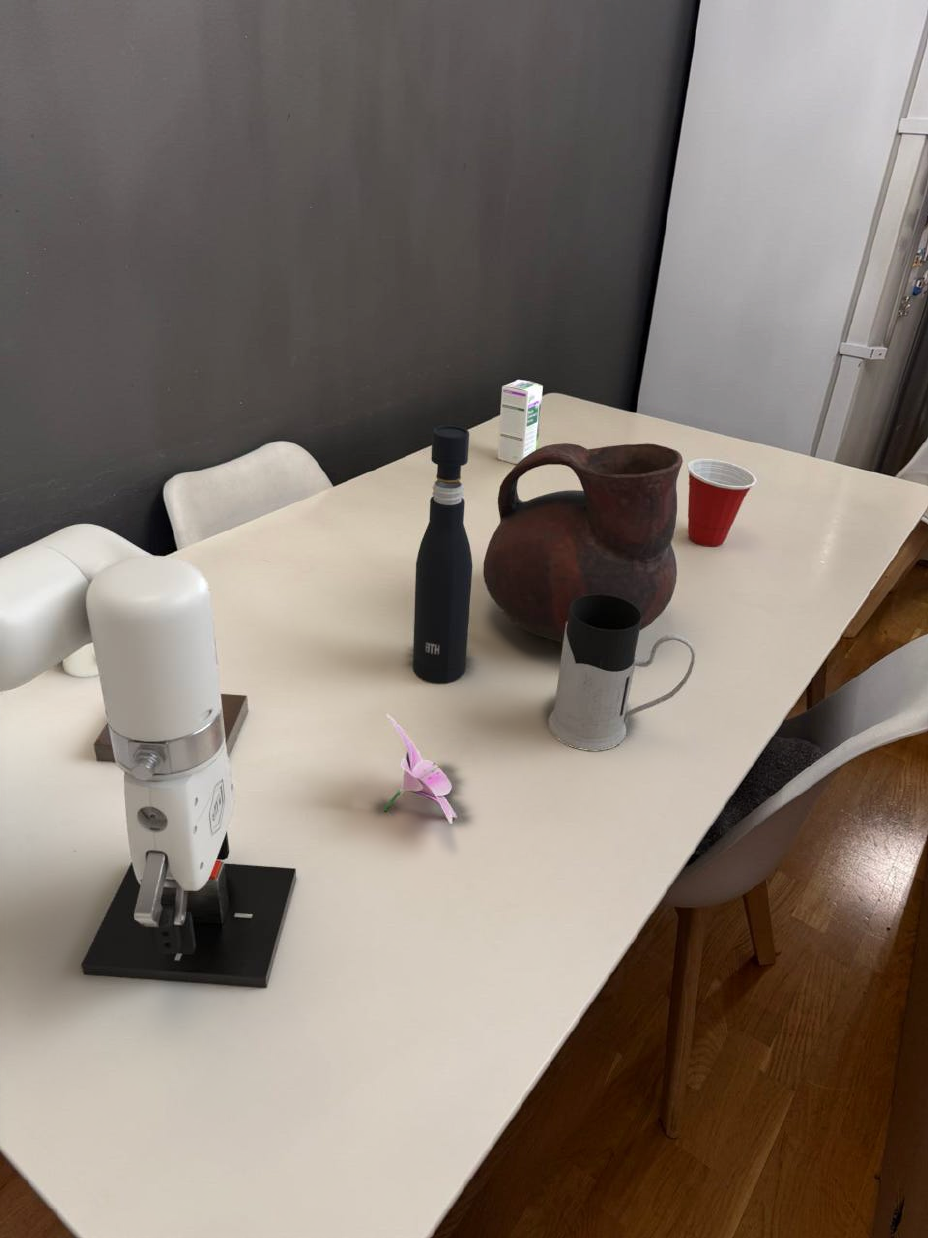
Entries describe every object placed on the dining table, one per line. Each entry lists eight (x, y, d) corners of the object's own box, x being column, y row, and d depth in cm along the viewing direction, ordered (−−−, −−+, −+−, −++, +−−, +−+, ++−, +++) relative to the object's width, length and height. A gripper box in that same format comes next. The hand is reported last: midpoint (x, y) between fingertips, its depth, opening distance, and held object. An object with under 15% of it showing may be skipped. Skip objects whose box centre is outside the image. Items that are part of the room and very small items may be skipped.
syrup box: (522, 466, 167) (529, 390, 160) (495, 459, 170) (501, 384, 163) (536, 458, 172) (544, 384, 164) (510, 451, 174) (517, 378, 167)
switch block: (96, 761, 90) (90, 730, 88) (132, 703, 98) (127, 673, 96) (223, 770, 90) (220, 739, 88) (248, 711, 98) (246, 681, 96)
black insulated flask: (455, 651, 111) (470, 419, 96) (472, 680, 106) (490, 439, 90) (406, 658, 109) (413, 422, 94) (420, 687, 104) (430, 443, 88)
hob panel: (86, 986, 68) (80, 963, 66) (137, 876, 77) (133, 855, 76) (267, 999, 68) (265, 977, 66) (297, 888, 77) (295, 866, 76)
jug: (539, 559, 134) (558, 398, 121) (694, 615, 122) (733, 442, 109) (441, 624, 116) (451, 443, 103) (612, 697, 104) (646, 502, 92)
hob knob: (160, 920, 70) (152, 874, 68) (168, 901, 72) (160, 854, 69) (222, 924, 70) (217, 878, 68) (229, 905, 72) (224, 859, 69)
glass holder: (556, 696, 104) (572, 584, 96) (678, 723, 101) (704, 610, 93) (540, 740, 97) (556, 623, 89) (671, 770, 93) (698, 652, 86)
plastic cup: (739, 559, 138) (756, 488, 132) (669, 546, 141) (683, 475, 135) (743, 532, 147) (759, 464, 141) (678, 520, 150) (691, 453, 144)
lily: (438, 885, 80) (490, 801, 77) (324, 822, 79) (373, 735, 77) (451, 826, 91) (497, 751, 89) (352, 771, 91) (395, 694, 89)
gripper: (183, 821, 54) (209, 999, 63) (252, 664, 69) (264, 826, 78) (61, 813, 54) (104, 992, 63) (156, 657, 69) (180, 820, 78)
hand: (193, 900), depth 70 cm, fingers open, 9 cm apart
